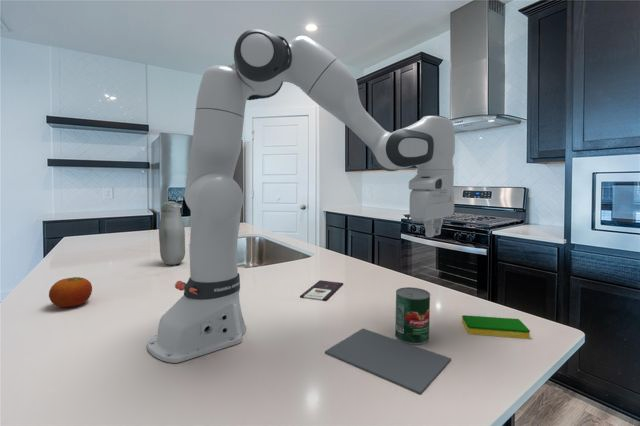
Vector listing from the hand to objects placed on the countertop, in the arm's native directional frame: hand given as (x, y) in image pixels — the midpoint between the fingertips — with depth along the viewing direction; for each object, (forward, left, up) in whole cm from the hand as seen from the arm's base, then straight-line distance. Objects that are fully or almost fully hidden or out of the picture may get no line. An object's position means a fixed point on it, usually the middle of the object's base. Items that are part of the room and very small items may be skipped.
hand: (433, 235), depth 88 cm
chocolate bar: (+1, +38, -24) cm, 45 cm away
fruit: (-58, +87, -23) cm, 107 cm away
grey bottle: (-15, +111, -23) cm, 114 cm away
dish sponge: (+6, -14, -24) cm, 28 cm away
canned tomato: (-11, 0, -23) cm, 26 cm away
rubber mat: (-23, 0, -23) cm, 33 cm away
